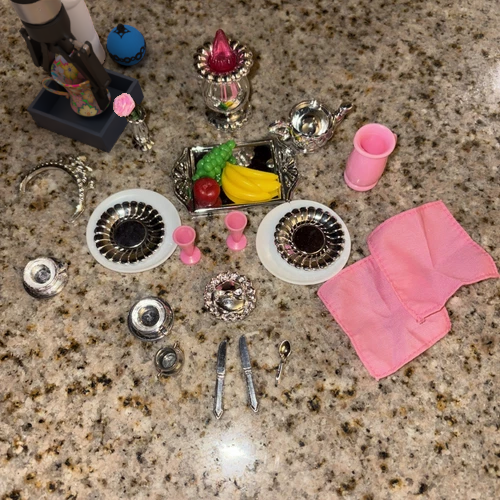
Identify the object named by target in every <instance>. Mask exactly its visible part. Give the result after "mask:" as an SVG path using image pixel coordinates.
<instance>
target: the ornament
mask: <svg viewBox="0 0 500 500" xmlns="http://www.w3.org/2000/svg"><path fill="white" fill-rule="evenodd" d="M105 48H106V52H107V53H108V56H109V58H110V59H111V60H112V61H113V62H116V63H118V64H119V65H121V66H127V67H128V66H129V67H130V66H134V65H136V64H138V63H140V61H142V60H143V58H144V56H145V54H146V48H147V42H146V38H145V36H144V35H143V33H142V32H141V31H140V30H139V29H138V28H137V27H134V26H133V25H130V24H123V23H121V22H119V23H118V24H117V25H116V26H115V27H113V28H112V29H111V31H109V33H108V35H107V38H106V44H105Z"/></svg>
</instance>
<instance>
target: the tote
mask: <svg viewBox="0 0 500 500" xmlns="http://www.w3.org/2000/svg"><path fill="white" fill-rule="evenodd" d="M104 69H105V71H106V72H107V74H108V75H109V77H110V79H111V82H110V84H109V85H108V87H107V89H108V91H109V93H110V96H111V100H110V103H109V105H108V107H107V108H106V109H105V110H104V111H103V112H102V113H100V114H98V115H95V116H82V115H79V114H77V113H76V112H75V111H74V110H73V109H72V107H71V104H70V98H71V97H69V98H68V99H67V97H66V96H67V95H66V96H65V97H63V96H61V95H59V94H55V93H52V92H50V91H48V90H46V89H45V88H44V87H43V86H42V88H41V89H40V90H39V92H38V93H37V95H36V96H35V98H34V99H33V100H32V101H31V103H30V104H29V106H28V107H27V108H26V111H27V112H28V115H30V117H31V118H32V119H33V121H34V122H35V124H36V125H37V126H38V127H39V126H40V128H42V127H43V128H42V129H45V130H47V129H48V131H50V132H52V133H55V134H58V135H60V136H64V137H66V138H68V139H72V140H74V141H76V142H79V143H81V144H83V145H84V144H85V145H87V146H89V147H93V148H95V149H98V150H100V151H103V152H106V153H108V154H110V152H111V151H112V150H113V147H115V144H116V143H117V142H118V139H119V138H120V137H121V135H122V133H123V132H124V130H125V128H126V127H127V125H128V124H129V122H127V120H126V118H125V117H120V116H118V115H117V114H116V113H115V112H114V110H113V102H114V99H115V98H116V97H117V96H119V95H121V94H122V93H127V94H130V95H131V97H132V98H133V99H134V100H135V101H136V103H137V104H139V106H140V105H141V103H142V102H143V100H144V98H145V96H144V93H143V90H142V85H141V83H140V80H139V79H137V78H134V77H132V76H130V75H126V74H124V73H120V72H117V71H115V70H112V69H109V68H106V67H104ZM44 84H45V85H46V86H47V87H49V88H51V89H53V90H56V91H59V90H58V89H57V87H56V85H55V83H54V82H53V81H52V80H48V81H46V82H45V83H44ZM68 93H69V92H68Z"/></svg>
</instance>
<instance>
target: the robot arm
mask: <svg viewBox="0 0 500 500" xmlns="http://www.w3.org/2000/svg"><path fill="white" fill-rule="evenodd" d="M8 1H9V3H10V5H11V7H12V9H13V10H14V12H15V14H16V16H18V18H19V20H20V22H21V24H22V25H21V27H20V29H19V30H18V32H19V34H20V35H21V37H22V38H23V39H24V41H25V44H26V47H27V50H28V52H29V55H30V58H31V59H32V63H33V65H34V66H35V67H36V68H40V67H41V68H42V70H43V71H44V72H45V73H47V74H48V77H52V74H51V66H52V63H53V61H54V60H55V59H56V56H57V55H58V56H59V55H61V56H62V57H63V58H64V59H65V60H66V61H67V62H68V63H72V64H73V66H74V67H75V68H76V69H77V70H78V71H79V72H80V73H81V75H82V76H83V77H84V78H85V79H86V80H88V81H89V82H90V85H91V86H92V87H91V88H90V89H91V91H92V93H93V95H94V97H95V100H96V102H97V104H98V106H99V108H100V110H102V111H104V110H105V108H106V107H107V105H108V104H109V102H110V100H109V98H108V92H107V90H106V88H107V87H108V85H109V84H110V82H111V79H110V77H109V75H108V74H107V72H106V71H105V69H104V68H105V67H104V66H103V64H101V62H100V61H99V59H98V58H97V56H96V54H95V53H94V51H93V48H92V44H91V43H90V42H89V41H85V43H81V42H79V41H77V39H76V38H75V36H74V35H73V34H72V33H71V23H70V18H69V16H68V14H67V12H66V9H65V7H64V5H63V3H62V2H61V0H8ZM73 50H74V52H73ZM72 52H73V53H72ZM71 53H72V55H71V56H69V55H70V54H71ZM52 81H53V82H54V83H55V85H56V87H57V89H58V90H59V91H60V92H68V91H67V90H66V89H65V88H64V87H63V86H62V85H60V84H59V83H57V82H56V81H55V80H52ZM61 96H63V97H65V96H66V95H61Z"/></svg>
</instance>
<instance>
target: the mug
mask: <svg viewBox="0 0 500 500" xmlns="http://www.w3.org/2000/svg"><path fill="white" fill-rule="evenodd" d="M73 52H74V50H73ZM73 52H72V53H73ZM72 53H71V54H70V55H69V56H71V55H72ZM51 74H52V77H50V76H46V77H44V78H43V79H42V81H41V85H42V88H43V87H44V88H45V89H46V90H48V91H50V92H52V93H55V94H59V95H67V96H66V97H67V99H68V98H69V97H71V98H70V104H71V107H72V109H73V110H74V111H75V112H76V113H77V114H79V115H82V116H95V115H98V114H100V113H102V112H103V111H102V110H100V108H99V106H98V104H97V102H96V100H95V97H94V95H93V93H92V91H91V89H90V88H91V87H92V86H91V85H90V82H89V81H88V80H86V79H85V78H84V77H83V76H82V75H81V73H80V72H79V71H78V70H77V69H76V68H75V67H74V66H73V64H72V63H68V62H67V61H66V60H65V59H64V58H63V57H62V56H61V55H59V54H58V56H56V57H55V60H54V61H53V63H52V66H51ZM48 80H55V81H56V82H57V83H59V84H60V85H62V86H63V87H64V88H65V89H66V90H67V91H68V92H69V93H68V92H60V91H56V90H53V89H51V88H49V87H47V86H46V85H45V84H46V82H47V81H48ZM106 90H107V92H108V98H109V100H111V96H110V93H109V91H108V89H107V88H106ZM109 103H110V102H109ZM108 105H109V104H108ZM108 105H107V107H108ZM107 107H106V108H107ZM106 108H105V109H106Z"/></svg>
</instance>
